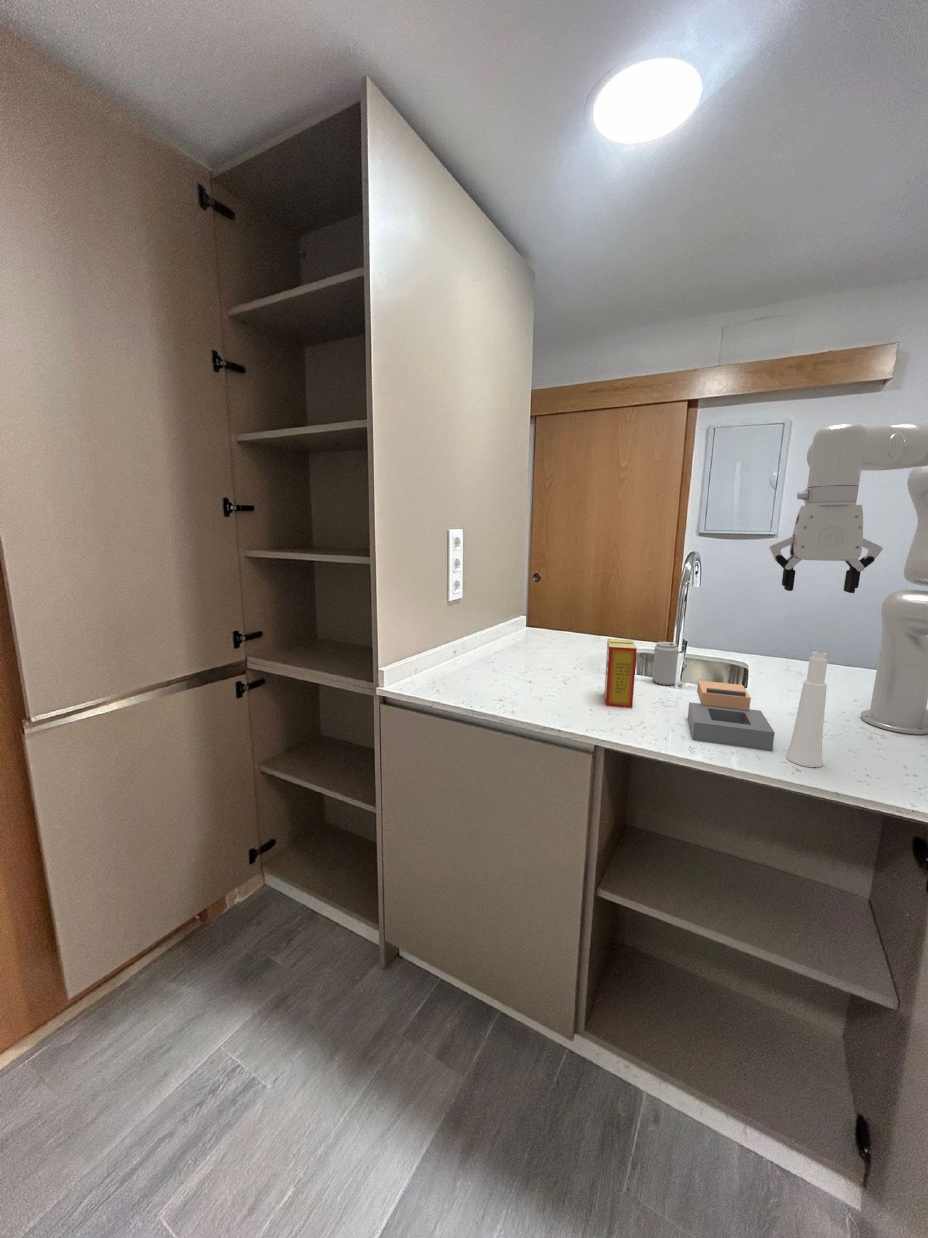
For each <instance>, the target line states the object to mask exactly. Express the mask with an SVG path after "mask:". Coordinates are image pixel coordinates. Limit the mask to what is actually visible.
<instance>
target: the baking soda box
mask: <svg viewBox="0 0 928 1238" xmlns="http://www.w3.org/2000/svg"><path fill="white" fill-rule="evenodd" d="M605 660H606V662H605V674H604V675H605V676H604V677H605V678H604V693H603V694H604V695H603V696H604V703H605V706H606V707H616V708H624V707H625V708H626V709H633V705H634V704H633V703H634V691H635V690H634V689H635V688H634V687H635V676H636V663H637V662H636V661H637V647H636V644H635V642H634V640H632V639H631V640H630V639H617V638H615V639H613V638H607V645H606V659H605ZM625 708H624V709H625Z"/></svg>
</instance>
